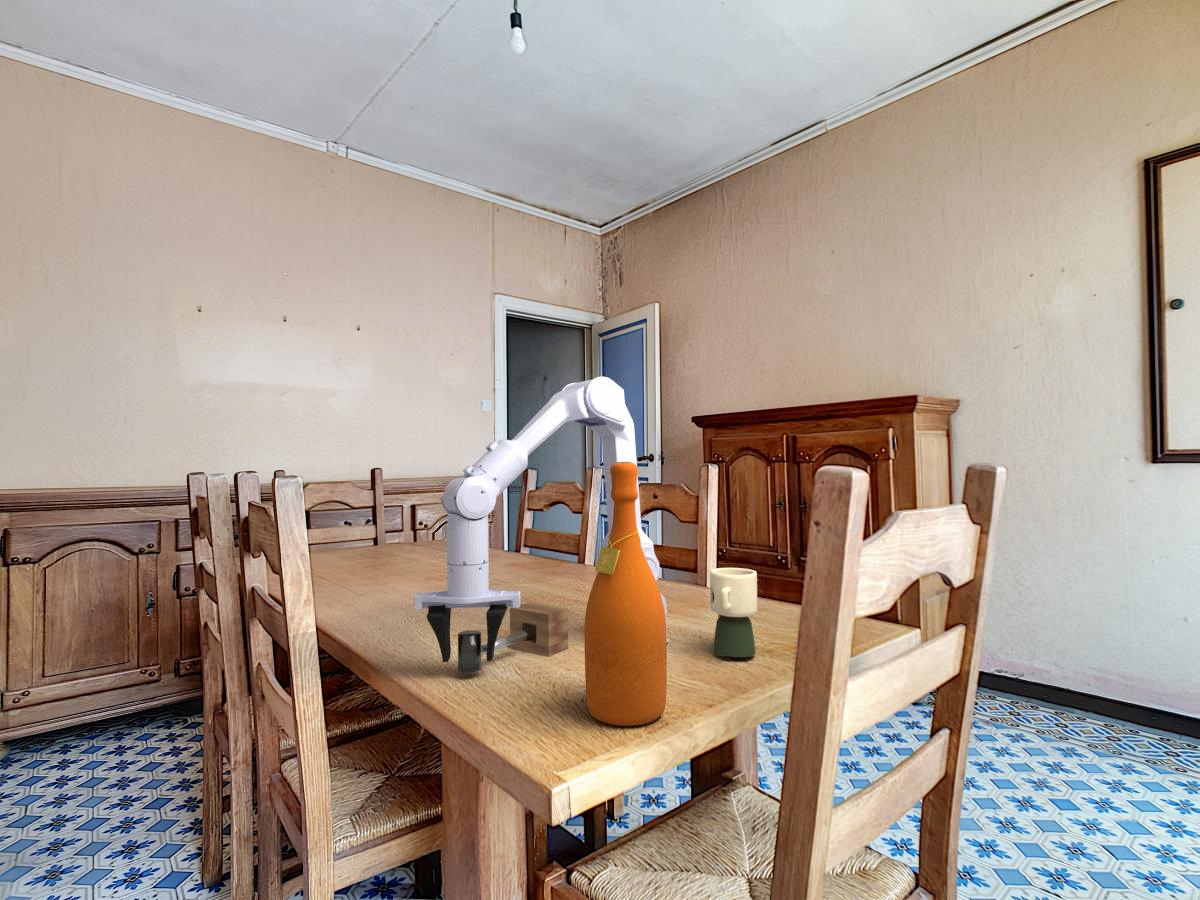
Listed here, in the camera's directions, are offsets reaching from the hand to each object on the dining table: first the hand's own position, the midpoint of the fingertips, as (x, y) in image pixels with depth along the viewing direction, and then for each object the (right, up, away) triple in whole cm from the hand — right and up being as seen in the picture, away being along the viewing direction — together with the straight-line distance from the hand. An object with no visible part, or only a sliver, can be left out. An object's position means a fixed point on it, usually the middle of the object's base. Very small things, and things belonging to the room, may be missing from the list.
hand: (468, 659), depth 85 cm
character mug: (+39, -3, +8) cm, 40 cm away
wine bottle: (+22, -2, -13) cm, 25 cm away
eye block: (+9, -3, +13) cm, 16 cm away
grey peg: (+3, -1, +4) cm, 5 cm away
